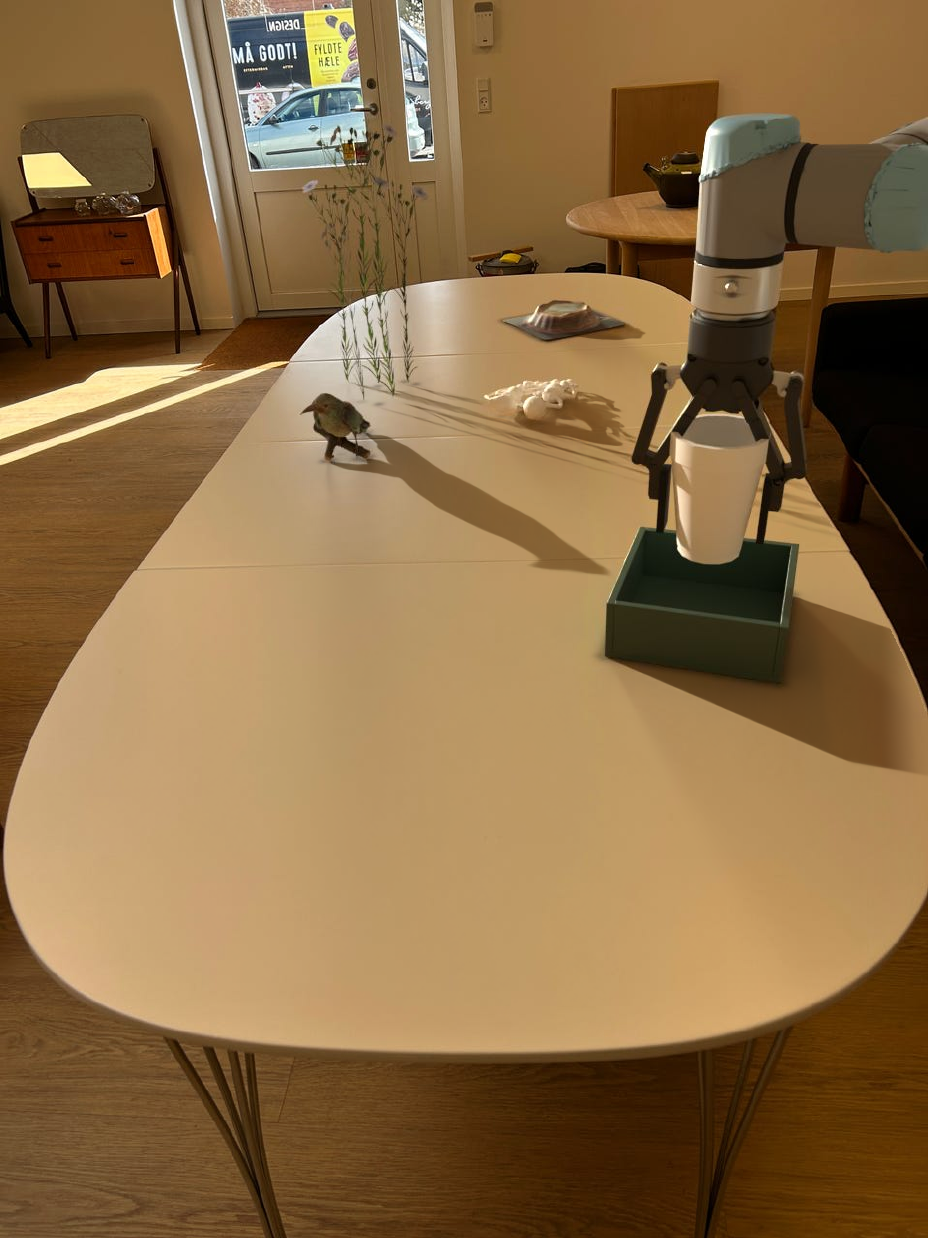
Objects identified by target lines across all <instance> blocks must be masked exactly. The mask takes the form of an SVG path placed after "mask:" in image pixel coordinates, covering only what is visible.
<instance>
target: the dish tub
mask: <svg viewBox="0 0 928 1238" xmlns="http://www.w3.org/2000/svg"><path fill="white" fill-rule="evenodd" d="M799 550H800V543H794V542H786V541H776V540H766V539H764V544H756V538H748V537H744V539H743V543H742V547H741V550H740V552H739V556H738V557H737V558H735V559H734V560H733V561H731V562H727V563H722V564H702V563H698V562H694V561H690V560H689V559H687V558H685V557H683V556H682V555H681V554H680V552H679V551H678V544H677V535H676V529H674V530H673V529H666V528H665V530H664V532H663V533H657V532H656V527H648V526H639V528H638V529H637V532H636V534H635V537H634V539H633V541H632V544H631V546H630V548H629V551H628V553H627V555H626V557H625V559H624V562H623V565H622V567H621V569H620V571H619V574H618V576H617V578H616V580H615V583H614V585H613V587H612V590H611V592H610V595H609V597H608V599H607V600H606V604H605V605H606V607H605V608H606V609H605V612H606V613H605V633H604V635H605V637H604V638H605V640H604V657H606V658H613V659H619V660H624V661H625V660H626V661H632V662H638V663H644V664H651V665H657V666H664V667H669V668H677V669H683V670H690V671H697V672H702V673H708V674H715V675H720V676H721V675H722V676H729V677H734V678H735V677H736V678H741V679H748V680H754V681H759V682H760V681H761V682H765V683H767V682H768V683H774V684H780V683H781V680H782V672H783V667H784V661H785V654H786V648H787V641H788V635H789V631H790V630H789V629H790V622H791V613H792V605H793V598H794V592H795V591H794V590H795V582H796V576H797V575H796V574H797V566H798V558H799Z"/></svg>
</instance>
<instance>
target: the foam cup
mask: <svg viewBox="0 0 928 1238" xmlns="http://www.w3.org/2000/svg"><path fill="white" fill-rule="evenodd" d="M674 424H675V422H674V423H673V425H672V426H674ZM671 428H673V427H671ZM671 428H670V430H672V429H671ZM771 431H772V432H773V430H772V429H771ZM770 436H771V434H770ZM769 439H770V438H769ZM769 439H760V440H759V441H757V442H756V441H755V439H754V436H753V434H752V432H751V429H750V427H749V425H748V424H747V423H746V421H745V419H744V416H743V415H739V414H732V413H702V414H698V415H697V416H696V418H695V419H694V420H693V422H692V423H691V424H690V426H689V427H688V429H687V430H686V432H685V433H684V435H683V436H681V435H680V434H679V433H678V432H671V439H670V453H669V454H670V456H669V457H670V458H671V464H672V469H671V476H672V487H673V490H672V491H673V502H674V504H673V505H674V517H675V518H674V519H675V530H676V535H677V544H678V551H679V552H680V554H681V555H682V556H683V557H685V558H687V559H689V560H690V561H694V562H698V563H702V564H722V563H727V562H731V561H733V560H734V559H735V558H737V557H738V556H739V552H740V550H741V547H742V543H743V539H744V538H745V535H746V531H747V528H748V525H749V520H750V518H751V514H752V511H753V510H752V509H753V507H754V502H755V499H756V495H757V492H758V489H759V484H760V480H761V477H762V473H763V469H764V467H765V463H766V457H767V450H768V442H769Z"/></svg>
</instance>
